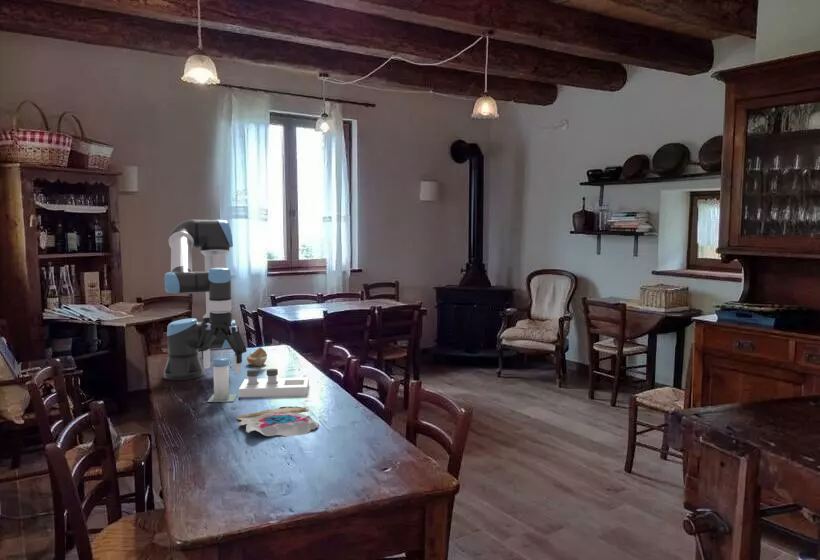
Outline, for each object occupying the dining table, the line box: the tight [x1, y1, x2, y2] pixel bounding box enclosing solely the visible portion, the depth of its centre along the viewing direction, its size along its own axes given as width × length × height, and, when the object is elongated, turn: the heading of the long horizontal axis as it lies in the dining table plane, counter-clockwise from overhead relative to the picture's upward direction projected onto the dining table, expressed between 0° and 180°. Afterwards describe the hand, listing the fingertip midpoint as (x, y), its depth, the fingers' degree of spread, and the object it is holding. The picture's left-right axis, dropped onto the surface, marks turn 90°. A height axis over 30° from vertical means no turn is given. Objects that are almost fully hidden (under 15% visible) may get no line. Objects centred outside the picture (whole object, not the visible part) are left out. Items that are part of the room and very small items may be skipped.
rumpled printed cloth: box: [236, 406, 320, 437], centre depth 192 cm, size 24×29×3 cm
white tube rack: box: [238, 376, 310, 398], centre depth 223 cm, size 14×24×4 cm, turn 97°
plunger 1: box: [246, 368, 259, 385], centre depth 222 cm, size 4×4×7 cm
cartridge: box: [211, 357, 230, 400], centre depth 215 cm, size 6×6×14 cm
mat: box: [206, 393, 239, 403], centre depth 216 cm, size 9×9×1 cm
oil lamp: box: [246, 346, 268, 367], centre depth 268 cm, size 9×21×10 cm, turn 24°
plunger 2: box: [266, 368, 279, 385], centre depth 222 cm, size 4×4×7 cm
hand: (222, 370), depth 215 cm, fingers open, 13 cm apart
